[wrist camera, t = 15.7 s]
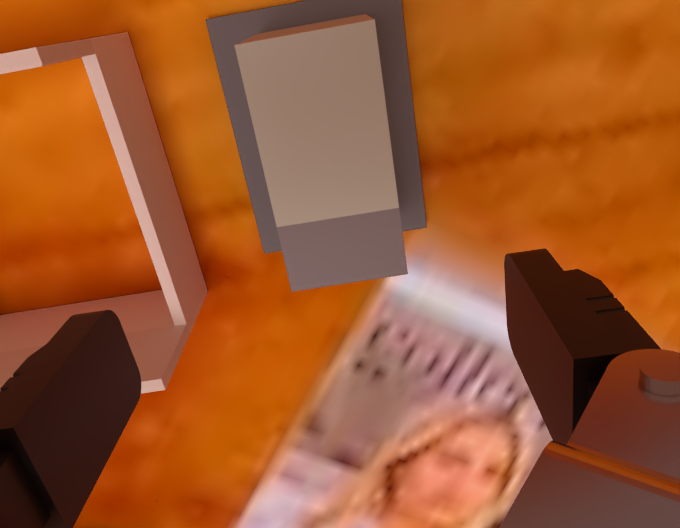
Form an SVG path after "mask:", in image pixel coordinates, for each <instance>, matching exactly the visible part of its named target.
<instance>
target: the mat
mask: <svg viewBox="0 0 680 528" xmlns="http://www.w3.org/2000/svg"><path fill="white" fill-rule="evenodd" d="M362 14H366V15H368V16H370V17H371V18H373V19H375V25H376V33H377V40H378V48H379V56H380V64H381V71H382V79H383V87H384V95H385V102H386V110H387V118H388V125H389V133H390V141H391V149H392V156H393V164H394V172H395V180H396V187H397V195H398V203H399V210H400V218H401V226H402V231H408V230H415V229H421V228H427V225H426V216H425V207H424V198H423V189H422V180H421V171H420V162H419V153H418V144H417V135H416V126H415V117H414V108H413V99H412V91H411V82H410V73H409V64H408V55H407V46H406V37H405V28H404V19H403V10H402V1H401V0H306V1H301V2H295V3H290V4H285V5H280V6H274V7H269V8H264V9H258V10H253V11H248V12H243V13H237V14H232V15H227V16H221V17H216V18H211V19H205V20H206V24H207V28H208V32H209V36H210V40H211V44H212V48H213V52H214V56H215V60H216V63H217V67H218V71H219V75H220V79H221V83H222V87H223V91H224V95H225V99H226V103H227V107H228V111H229V115H230V119H231V123H232V127H233V131H234V135H235V139H236V143H237V147H238V151H239V155H240V159H241V163H242V167H243V171H244V175H245V179H246V183H247V187H248V191H249V195H250V199H251V203H252V207H253V211H254V215H255V219H256V223H257V227H258V231H259V235H260V239H261V243H262V247H263V251H264V253H270V252H276V251H282V248H281V244H280V239H279V235H278V231H277V226H276V222H275V218H274V213H273V209H272V205H271V201H270V196H269V192H268V188H267V183H266V179H265V175H264V170H263V166H262V162H261V158H260V153H259V149H258V145H257V140H256V136H255V132H254V127H253V123H252V119H251V115H250V110H249V106H248V102H247V97H246V93H245V89H244V84H243V80H242V76H241V72H240V67H239V63H238V59H237V54H236V50H235V46H234V45H236V44H238V43H240V42H242V41H244V40H246V39H248V38H250V37H252V36H255V35H257V34H259V33H264V32H270V31H275V30H280V29H286V28H291V27H297V26H302V25H308V24H313V23H319V22H324V21H330V20H335V19H340V18H346V17H351V16H357V15H362Z"/></svg>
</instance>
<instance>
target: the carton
mask: <svg viewBox="0 0 680 528" xmlns="http://www.w3.org/2000/svg"><path fill="white" fill-rule="evenodd" d="M80 57H82V60H83V63H84V66H85V69H86V71H87V74H88V77H89V80H90V83H91V86H92V89H93V92H94V94H95V97H96V100H97V103H98V106H99V109H100V112H101V115H102V117H103V120H104V123H105V126H106V129H107V132H108V135H109V138H110V140H111V143H112V146H113V149H114V152H115V155H116V158H117V161H118V163H119V166H120V169H121V172H122V175H123V178H124V181H125V184H126V186H127V189H128V192H129V195H130V198H131V201H132V204H133V207H134V209H135V212H136V215H137V218H138V221H139V224H140V227H141V230H142V232H143V235H144V238H145V241H146V244H147V247H148V250H149V253H150V255H151V258H152V261H153V264H154V267H155V270H156V273H157V276H158V278H159V281H160V284H161V287H162V290H157V291H151V292H144V293H138V294H131V295H125V296H119V297H112V298H106V299H100V300H93V301H87V302H80V303H74V304H68V305H61V306H55V307H48V308H42V309H36V310H29V311H23V312H17V313H10V314H4V315H0V388H1V387H2V386H3V385H4V384H5V382H6V381H7V380H8V379H9V378H10V377H13V373H14V372H15V371H16V370H17V369H18V368H19V367H20V365H21V364H22V363H23V362H24V361H25V360H26V359H27V358H28V357H29V356H30V355H32V354H33V353H34V352H36V351H37V350H39V349H40V348H41V347H43V346H44V345H46V344H47V343H48V342H49V341H50V339H51V338H52V337H53V336H54V335H55V334H56V333H57V331H58V330H59V329H60V328H61V327H62V326H63V324H64V323H65V322H66V321H67V320H68V319H69V318H70V317H71V316H72V315H75V314H82V313H89V312H96V311H103V310H111V311H113V312H114V313H115V314H116V315H117V316H118V318H119V320H120V323H121V325H122V328H123V330H124V333H125V335H126V338H127V341H128V343H129V346H130V348H131V351H132V353H133V356H134V358H135V361H136V364H137V366H138V369H139V372H140V376H141V393H147V392H154V391H161V390H166V387H167V385H168V383H169V381H170V378H171V376H172V374H173V371H174V369H175V367H176V364H177V362H178V360H179V358H180V355H181V353H182V351H183V348H184V346H185V344H186V341H187V339H188V337H189V335H190V332H191V330H192V328H193V325H194V323H195V321H196V318H197V316H198V314H199V312H200V309H201V307H202V305H203V302H204V300H205V298H206V295H207V293H208V290H207V287H206V284H205V281H204V277H203V274H202V271H201V268H200V264H199V261H198V258H197V255H196V251H195V248H194V245H193V242H192V238H191V235H190V232H189V229H188V225H187V222H186V219H185V216H184V212H183V209H182V206H181V203H180V200H179V196H178V193H177V190H176V187H175V183H174V180H173V177H172V174H171V170H170V167H169V164H168V161H167V157H166V154H165V151H164V148H163V144H162V141H161V138H160V135H159V131H158V128H157V125H156V122H155V118H154V115H153V112H152V109H151V106H150V102H149V99H148V96H147V93H146V89H145V86H144V83H143V80H142V76H141V73H140V70H139V67H138V63H137V60H136V57H135V54H134V50H133V47H132V44H131V41H130V37H129V34H128V32H124V33H118V34H112V35H106V36H100V37H94V38H88V39H82V40H76V41H70V42H64V43H58V44H52V45H46V46H40V47H34V48H29V49H24V50H19V51H13V52H8V53H3V54H0V74H4V73H9V72H15V71H20V70H25V69H31V68H36V67H41V66H46V65H50V64H54V63H59V62H63V61H67V60H71V59H76V58H80ZM0 391H1V389H0Z"/></svg>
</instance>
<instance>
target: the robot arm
mask: <svg viewBox="0 0 680 528" xmlns="http://www.w3.org/2000/svg"><path fill="white" fill-rule="evenodd" d="M504 269H505V291H506V313H507V328H508V335H509V340H510V344H511V348H512V351H513V354H514V356H515V358H516V360H517V363H518V365H519V367H520V369H521V371H522V374H523V376H524V378H525V380H526V382H527V385H528V387H529V389H530V391H531V393H532V395H533V398H534V400H535V402H536V404H537V406H538V409H539V411H540V413H541V415H542V417H543V419H544V422H545V424H546V426H547V428H548V430H549V433H550V435H551V437H552V439H553V441H551V442H550V443H548V444H547V446H546V447H545V448H544V450H543V451H542V453H541V455H540V457H539V458H538V460H537V462H536V464H535V465H534V467H533V469H532V471H531V472H530V474H529V476H528V478H527V480H526V481H525V483H524V485H523V487H522V488H521V490H520V492H519V494H518V496H517V497H516V499H515V501H514V503H513V504H512V506H511V508H510V510H509V512H508V513H507V515H506V517H505V519H504V520H503V522H502V524H501V526H500V528H680V353H678V352H674V351H669V350H661V348H660V347H659V346H658V345H657V344H656V343H655V342H654V340H653V339H652V338H651V337H650V336H649V335H648V334H647V333H646V331H645V330H644V329H643V328H642V327H641V326H640V325H639V323H638V322H637V321H636V320H635V319H634V318H633V317H632V315H631V314H630V313H629V312H628V311H625V309H624V306H623V305H622V304H621V303H620V302H619V301H618V300H617V298H614V296H613V294H612V293H611V292H610V290H609V289H608V288H607V287H606V286H605V285H604V284H603V283H602V281H601V280H599V279H597V278H595V277H593V276H591V275H589V274H587V273H585V272H583V271H581V270H579V269H575V270H568V271H563V269H562V268H561V267H560V266H559V264H558V263H557V262H556V260H555V259H554V258H553V257H552V255H551V254H550V253H549V251H548V250H547V249H538V250H531V251H524V252H517V253H510V254H506V256H505V262H504ZM0 389H1V391H0V528H73V526H74V524H75V522H76V520H77V519H78V517H79V515H80V513H81V511H82V509H83V507H84V505H85V503H86V501H87V499H88V497H89V495H90V494H91V492H92V490H93V488H94V486H95V484H96V482H97V480H98V478H99V476H100V474H101V472H102V470H103V468H104V467H105V465H106V463H107V461H108V459H109V457H110V455H111V453H112V451H113V449H114V447H115V445H116V443H117V441H118V440H119V438H120V436H121V434H122V432H123V430H124V428H125V426H126V424H127V422H128V420H129V418H130V416H131V415H132V413H133V411H134V409H135V407H136V405H137V403H138V401H139V398H140V394H141V376H140V372H139V369H138V366H137V364H136V361H135V358H134V356H133V353H132V351H131V348H130V346H129V343H128V341H127V338H126V335H125V333H124V330H123V328H122V325H121V323H120V320H119V318H118V316H117V315H116V314H115V313H114V312H113V311H111V310H103V311H96V312H89V313H82V314H75V315H72V316H71V317H70V318H69V319H68V320H67V321H66V322H65V323H64V324H63V326H62V327H61V328H60V329H59V330H58V331H57V333H56V334H55V335H54V336H53V337H52V338H51V339H50V341H49V342H48V343H47V344H46V345H44V346H43V347H41V348H40V349H39V350H37V351H36V352H34V353H33V354H32V355H30V356H29V357H28V358H27V359H26V360H25V361H24V362H23V363H22V364H21V365H20V367H19V368H18V369H17V370H16V371H15V372H14V373H13V377H10V378H9V379H8V380H7V381H6V382H5V384H4V385H3V386H2V387H1V388H0Z"/></svg>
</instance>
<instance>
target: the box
mask: <svg viewBox="0 0 680 528" xmlns="http://www.w3.org/2000/svg"><path fill="white" fill-rule="evenodd" d="M234 46H235V50H236V54H237V59H238V63H239V67H240V72H241V76H242V80H243V84H244V89H245V93H246V97H247V102H248V106H249V110H250V115H251V119H252V123H253V127H254V132H255V136H256V140H257V145H258V149H259V153H260V158H261V162H262V166H263V170H264V175H265V179H266V183H267V188H268V192H269V196H270V201H271V205H272V209H273V213H274V218H275V222H276V226H277V231H278V235H279V239H280V244H281V248H282V252H283V256H284V261H285V265H286V269H287V274H288V278H289V282H290V287H291V291H299V290H305V289H312V288H319V287H325V286H332V285H338V284H345V283H352V282H358V281H365V280H371V279H378V278H385V277H391V276H398V275H404V274H408V272H407V265H406V257H405V249H404V241H403V234H402V226H401V218H400V210H399V203H398V195H397V187H396V180H395V172H394V164H393V156H392V149H391V141H390V133H389V125H388V118H387V110H386V102H385V95H384V87H383V79H382V71H381V64H380V56H379V48H378V40H377V33H376V25H375V19H373V18H371V17H370V16H368V15H366V14H362V15H357V16H351V17H346V18H340V19H335V20H330V21H324V22H319V23H313V24H308V25H302V26H297V27H291V28H286V29H280V30H275V31H270V32H264V33H259V34H257V35H255V36H252V37H250V38H248V39H246V40H244V41H242V42H240V43H238V44H236V45H234Z"/></svg>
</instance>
